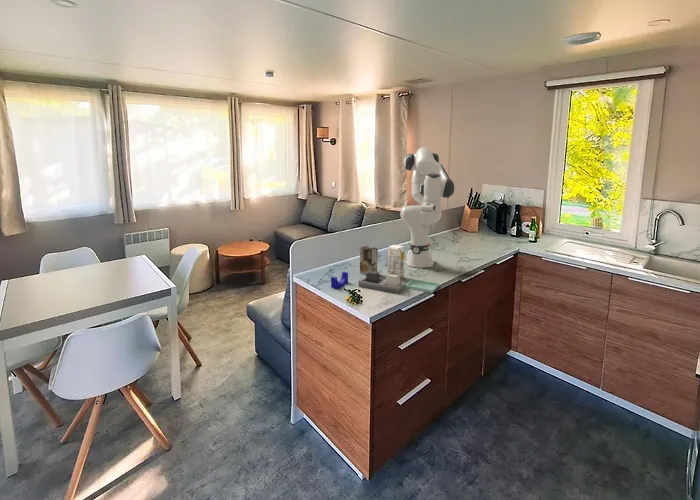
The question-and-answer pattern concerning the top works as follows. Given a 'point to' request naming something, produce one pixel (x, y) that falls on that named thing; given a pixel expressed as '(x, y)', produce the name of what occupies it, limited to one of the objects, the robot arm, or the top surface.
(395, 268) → the juice carton
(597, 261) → the top surface
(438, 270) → the top surface
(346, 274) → the cable clip
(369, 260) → the coffee box
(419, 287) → the tray
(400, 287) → the grey compartment holder
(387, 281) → the plug
